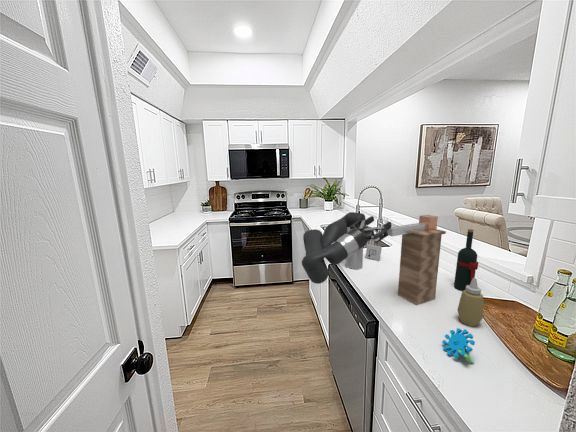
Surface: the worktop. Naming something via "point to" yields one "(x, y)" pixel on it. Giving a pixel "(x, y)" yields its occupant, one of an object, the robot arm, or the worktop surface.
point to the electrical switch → (373, 252)
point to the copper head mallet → (415, 226)
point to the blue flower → (459, 344)
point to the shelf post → (419, 266)
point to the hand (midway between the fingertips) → (381, 220)
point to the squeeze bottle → (471, 305)
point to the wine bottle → (466, 264)
